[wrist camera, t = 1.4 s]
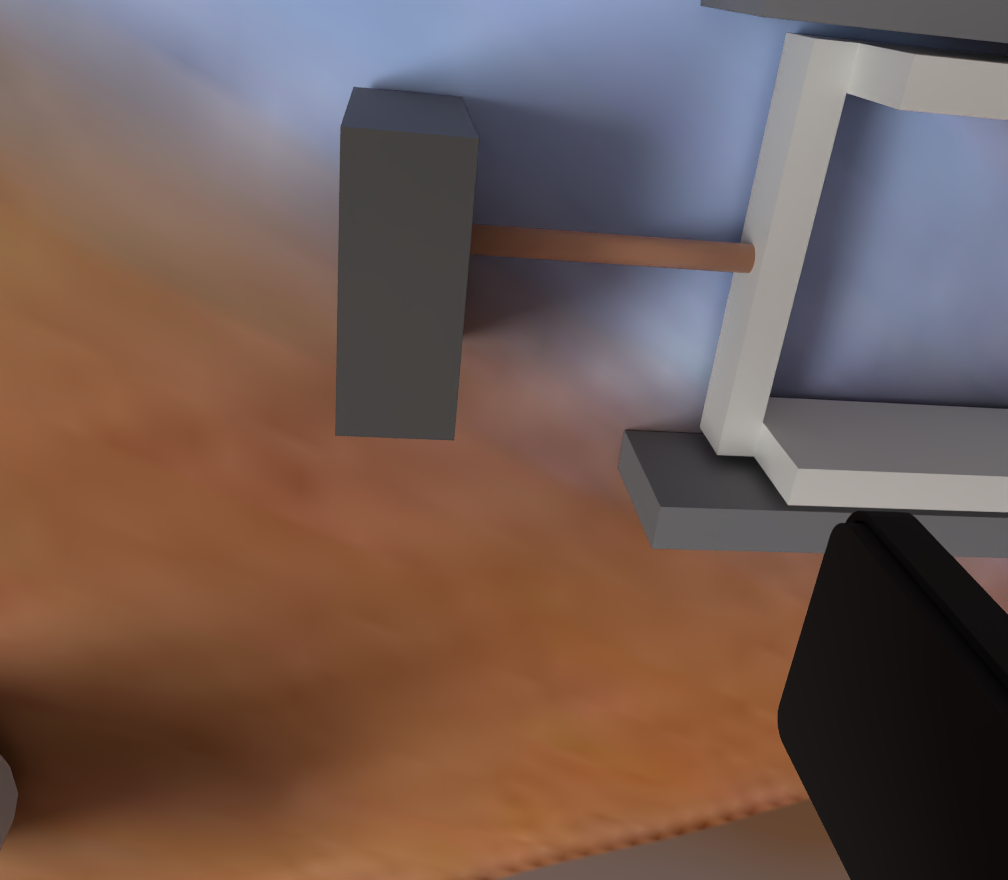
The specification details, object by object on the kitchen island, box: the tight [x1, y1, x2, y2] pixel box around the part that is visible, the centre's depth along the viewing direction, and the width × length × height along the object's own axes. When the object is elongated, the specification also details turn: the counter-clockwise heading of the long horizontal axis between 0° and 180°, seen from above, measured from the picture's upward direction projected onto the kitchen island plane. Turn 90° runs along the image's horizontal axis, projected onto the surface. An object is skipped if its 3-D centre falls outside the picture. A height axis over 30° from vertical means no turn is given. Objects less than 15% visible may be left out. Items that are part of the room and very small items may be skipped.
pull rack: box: [335, 33, 1008, 512], centre depth 21 cm, size 10×26×6 cm, turn 84°
